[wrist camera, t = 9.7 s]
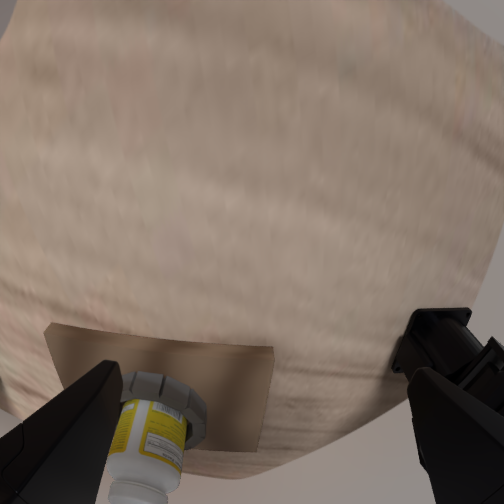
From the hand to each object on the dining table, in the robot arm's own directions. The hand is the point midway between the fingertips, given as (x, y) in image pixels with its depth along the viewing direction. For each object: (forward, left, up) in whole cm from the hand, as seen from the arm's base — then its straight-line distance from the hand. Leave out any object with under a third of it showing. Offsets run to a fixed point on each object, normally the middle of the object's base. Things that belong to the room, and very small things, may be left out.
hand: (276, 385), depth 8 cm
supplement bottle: (+7, +15, -11) cm, 20 cm away
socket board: (+7, +15, -12) cm, 20 cm away
